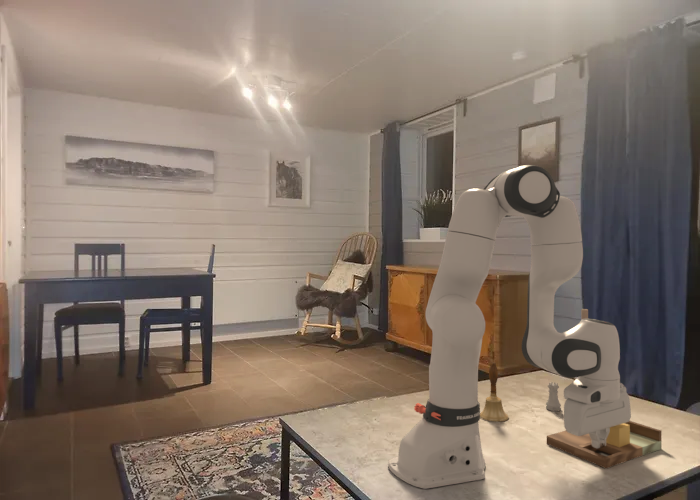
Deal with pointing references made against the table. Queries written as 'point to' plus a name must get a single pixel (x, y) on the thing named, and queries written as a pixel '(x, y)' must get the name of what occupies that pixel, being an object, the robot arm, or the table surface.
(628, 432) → the block
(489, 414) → the hand bell
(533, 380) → the table surface
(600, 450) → the box
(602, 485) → the table surface
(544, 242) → the robot arm
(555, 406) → the rook chess piece
